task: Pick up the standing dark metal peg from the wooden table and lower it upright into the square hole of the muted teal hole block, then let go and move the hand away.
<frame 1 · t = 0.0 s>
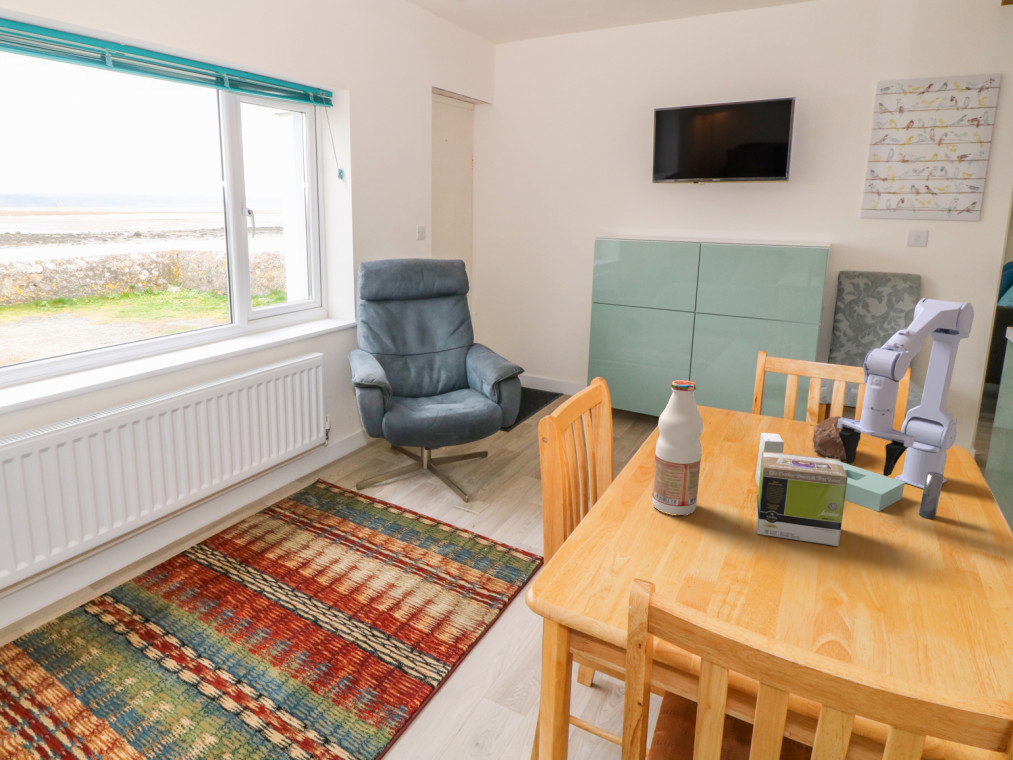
hand: (868, 468, 138), 10 cm above the table, tool pointing down, fingers open, 7 cm apart
metal peg: (926, 516, 140), on the table
decorative rock: (832, 455, 173), on the table
hole block: (849, 490, 152), on the table
skincare box: (766, 486, 154), on the table
fruit juice: (673, 507, 143), on the table
tea box: (794, 531, 133), on the table
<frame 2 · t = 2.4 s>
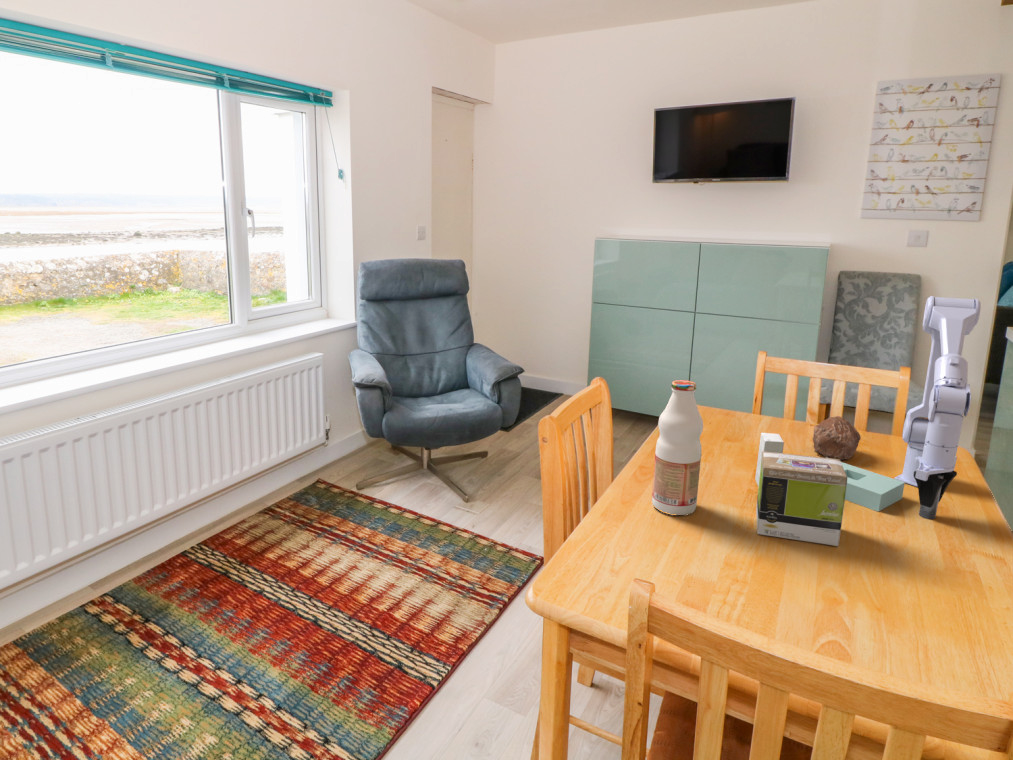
hand: (929, 503, 139), 3 cm above the table, tool pointing down, fingers closed on metal peg, 3 cm apart
metal peg: (926, 516, 140), on the table, touching gripper
everything else where it was.
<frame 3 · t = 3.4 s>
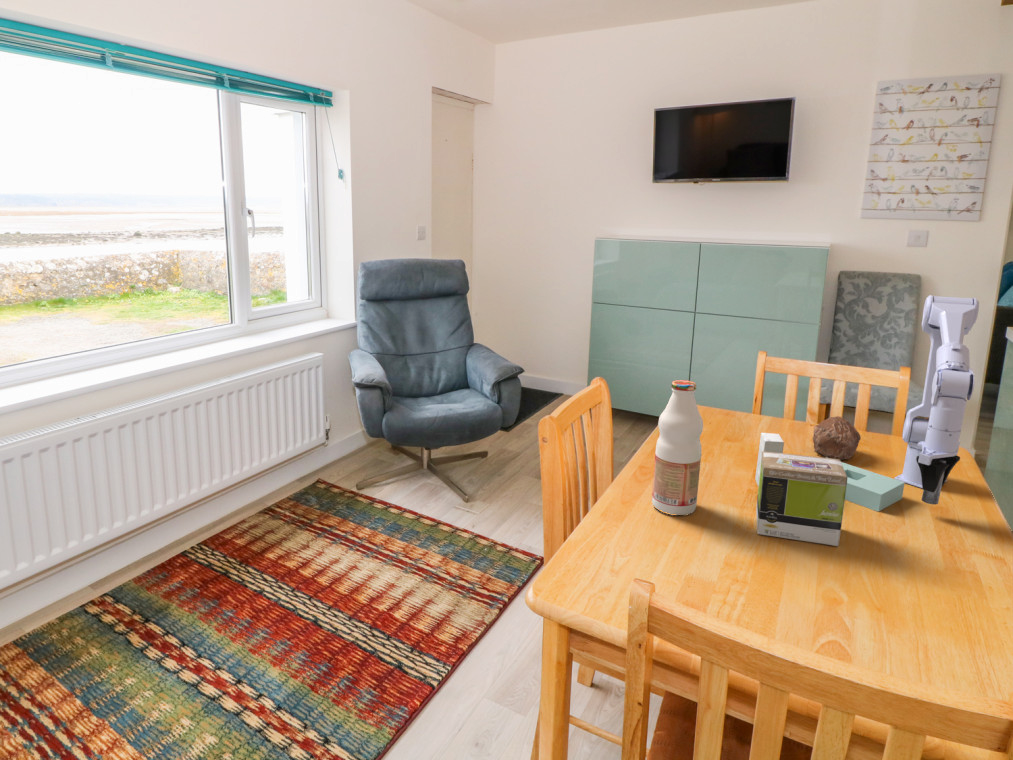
hand: (932, 488, 138), 6 cm above the table, tool pointing down, fingers closed on metal peg, 3 cm apart
metal peg: (929, 501, 139), point 3 cm above the table, touching gripper
everything else where it was.
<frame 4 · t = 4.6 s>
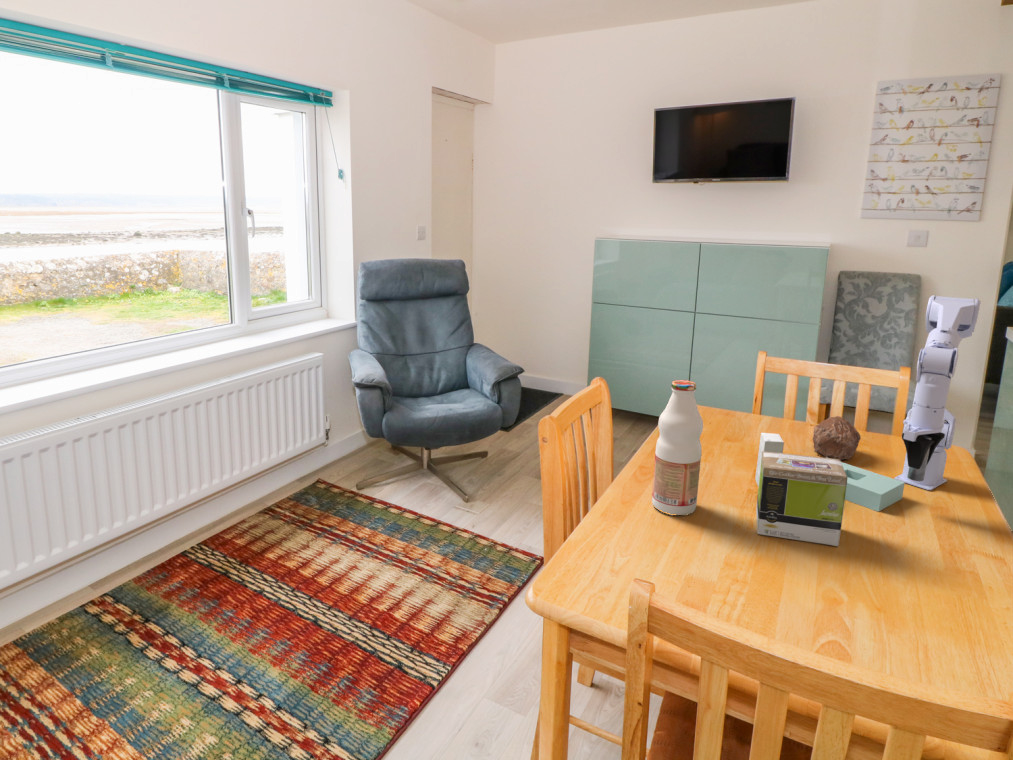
hand: (917, 465, 140), 10 cm above the table, tool pointing down, fingers closed on metal peg, 3 cm apart
metal peg: (915, 478, 140), point 7 cm above the table, touching gripper
everything else where it was.
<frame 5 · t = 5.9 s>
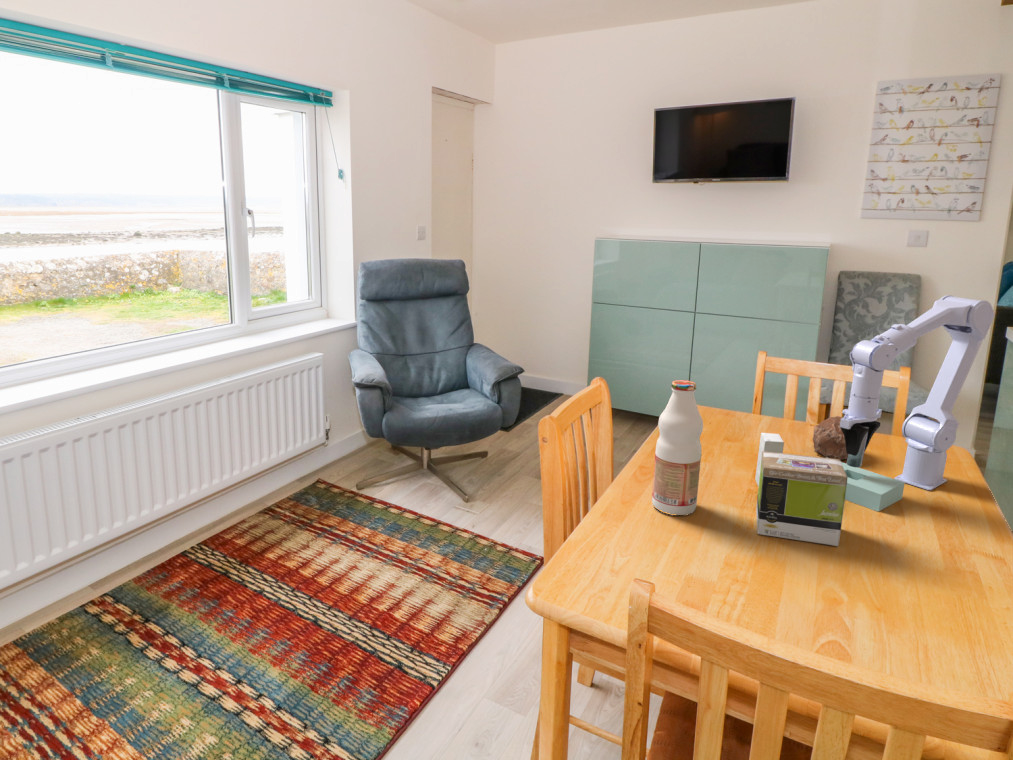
hand: (855, 452, 149), 9 cm above the table, tool pointing down, fingers closed on metal peg, 3 cm apart
metal peg: (853, 464, 150), point 6 cm above the table, touching gripper
everything else where it was.
when the fingers open (5 cm above the table, at t = 7.1 s): metal peg drops 2 cm, resting in hole block.
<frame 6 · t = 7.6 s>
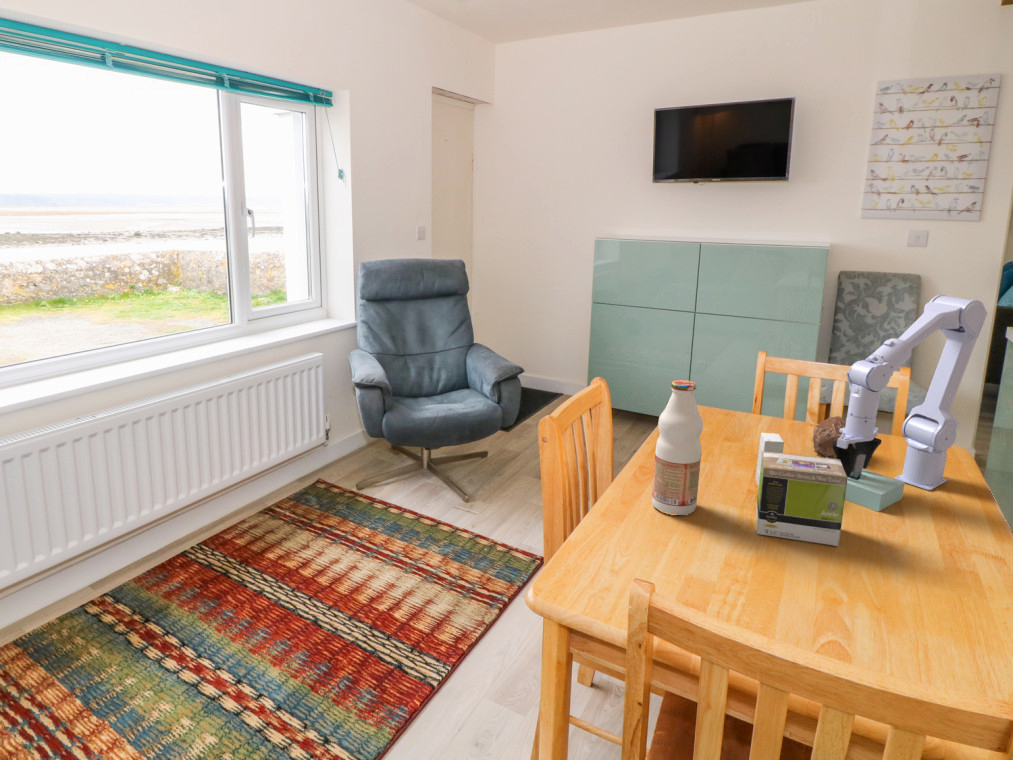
hand: (852, 471, 150), 5 cm above the table, tool pointing down, fingers open, 7 cm apart
metal peg: (849, 490, 151), resting in hole block
everything else where it was.
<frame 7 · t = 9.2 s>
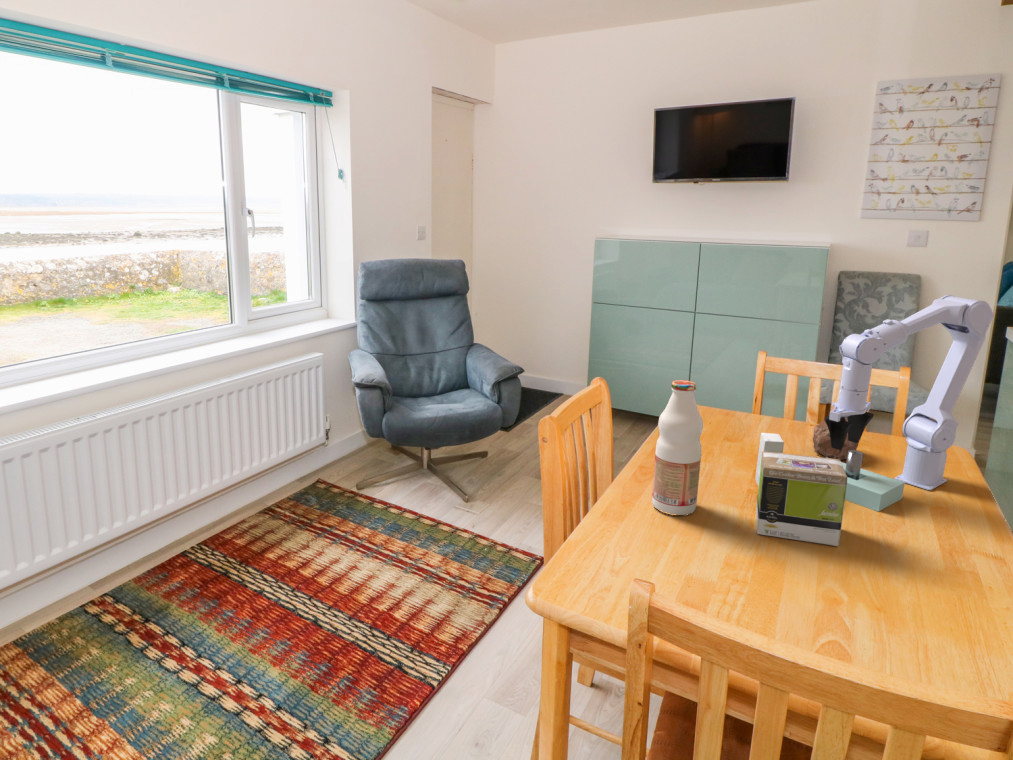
hand: (845, 445, 151), 10 cm above the table, tool pointing down, fingers open, 7 cm apart
nothing on the table moved.
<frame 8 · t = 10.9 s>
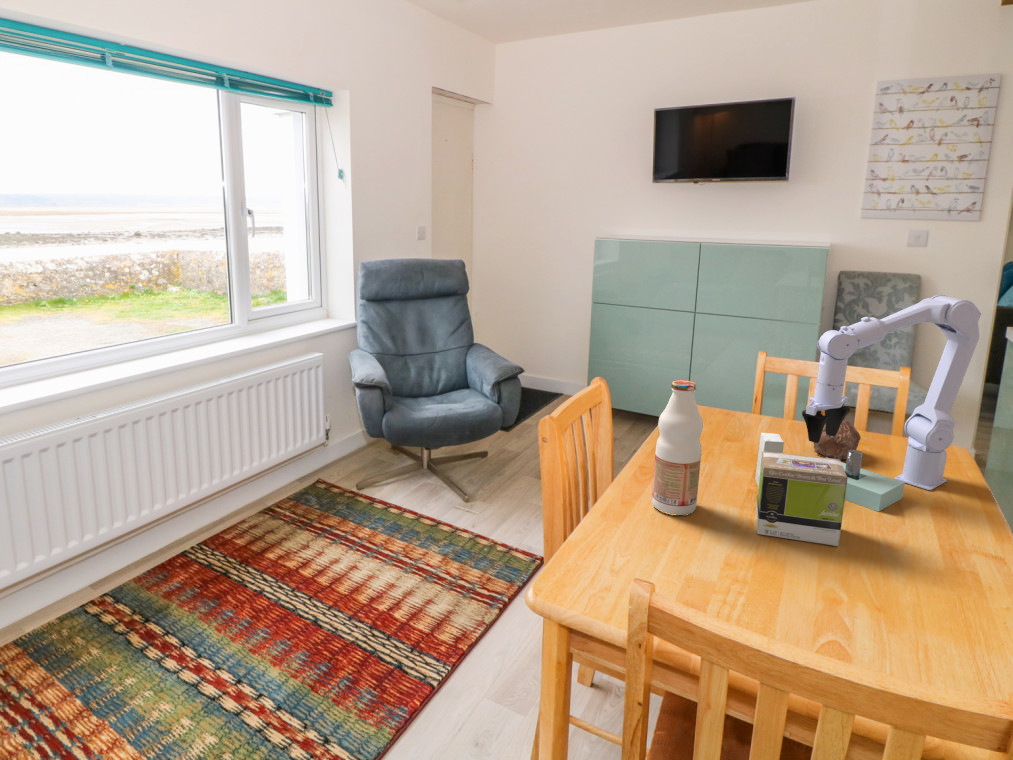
hand: (822, 438, 155), 10 cm above the table, tool pointing down, fingers open, 7 cm apart
nothing on the table moved.
at the end: metal peg 0.0 cm off-centre on the hole block, point 0.0 cm above the hole block's base; metal peg tilted 1° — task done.
